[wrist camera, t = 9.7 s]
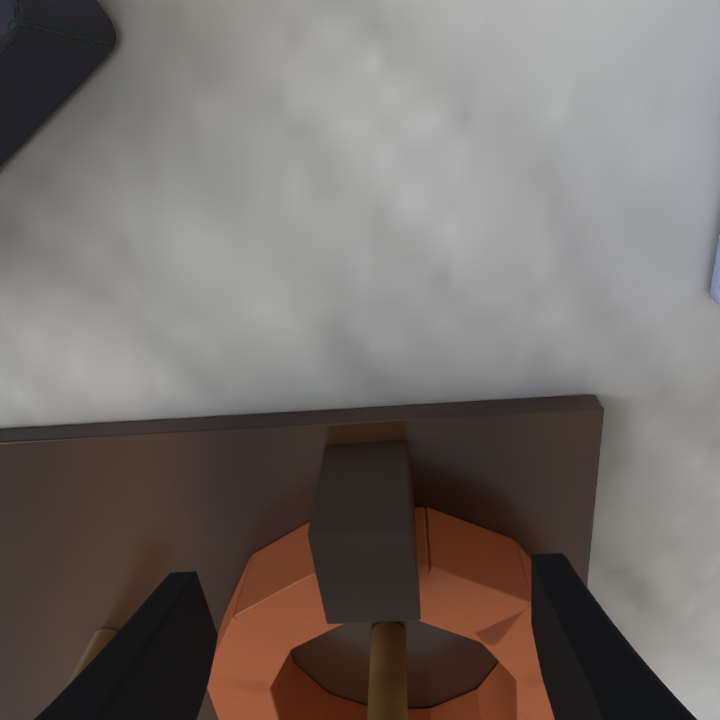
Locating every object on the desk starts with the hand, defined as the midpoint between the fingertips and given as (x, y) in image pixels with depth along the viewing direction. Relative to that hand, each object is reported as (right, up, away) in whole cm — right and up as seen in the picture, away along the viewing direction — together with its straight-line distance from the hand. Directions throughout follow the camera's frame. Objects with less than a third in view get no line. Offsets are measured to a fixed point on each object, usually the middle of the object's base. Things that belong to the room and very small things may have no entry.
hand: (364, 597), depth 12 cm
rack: (-4, -4, +8) cm, 10 cm away
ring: (+1, -3, +7) cm, 8 cm away
